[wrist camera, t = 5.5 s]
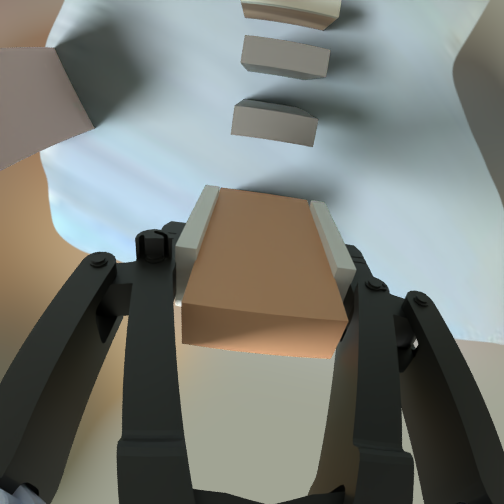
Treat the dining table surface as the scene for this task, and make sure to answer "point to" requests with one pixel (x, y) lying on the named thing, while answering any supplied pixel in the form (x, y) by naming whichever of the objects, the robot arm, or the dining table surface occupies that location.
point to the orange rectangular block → (263, 281)
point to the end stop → (294, 11)
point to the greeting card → (36, 103)
